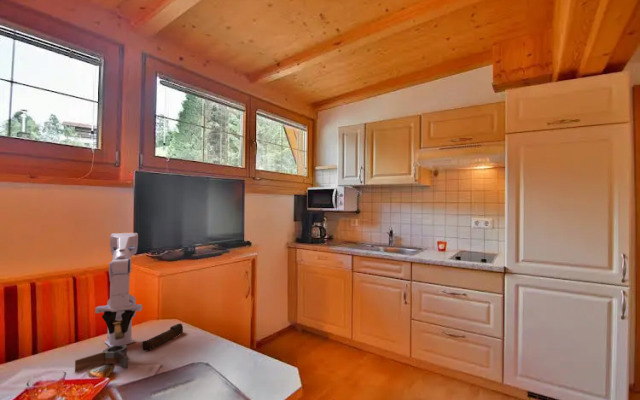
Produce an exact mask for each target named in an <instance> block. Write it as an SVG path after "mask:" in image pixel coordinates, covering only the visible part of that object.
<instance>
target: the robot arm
mask: <svg viewBox="0 0 640 400" xmlns="http://www.w3.org/2000/svg"><path fill="white" fill-rule="evenodd" d="M109 238H110V239H109V240H110V241H109V245H110V246H109V247H110V253H111V255H112V260H111V261H109V265H108V275H109V282H110V284H109V285H110V286H109V299H108V300H107V303H106V305H98V306H96V307H95V308H94V309H95V311H94V313H95V314H100V313H101V314H102V315H101V318H102V319H103V321H104V322H105V324H106V327H107V337H106V338H107V340H104V342H103V343H105V345H107V346H108V347H111V346H115V345H125V346H127V345H130V344H134V343H135V342H136V340H135V339H133V338H132V331H133V330H132V325H133V318H135V317H136V316H137V315H136V313H137V312H141V311H142V310H143V304H141V303H140V304H139V303H138V304H137V302H136V301H137V298H136V297H135V296H134V295H133V294H130V280H131V279H130V278H131V277H130V275H131V273H132V256H134V255H136V254H137V252H138V247H139V246H138V245H139V234H138V233H137V232H129V233H127V232H126V233H123V232H122V233H114V232H113V233H111V234H110V237H109ZM118 319H122V323H123V327H122V332H123V333H125V337H124V338H122V339H118V340H115V339H114V324H112V322H113V321H115V320H118Z"/></svg>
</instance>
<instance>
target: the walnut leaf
mask: <svg viewBox="0 0 640 400" xmlns="http://www.w3.org/2000/svg"><path fill="white" fill-rule="evenodd" d="M103 351H104V350H103ZM103 351H101V352H98V353H94V354H92V355H88V356H85V357H81V358H78V359H75V361H74V372H75V373H77V372H80V371H83V370H86V369H89V368H92V367H97V366H99V365H102V364H105V365H106V364H107V363H109V364H115V363H117V357H115V358H104V354H105V351H104V352H103ZM124 355H126V356H127V355H128V351H127V352H126V353H125V354H124ZM127 357H128V356H127ZM79 370H80V371H79ZM76 371H77V372H76Z"/></svg>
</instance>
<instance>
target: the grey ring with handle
mask: <svg viewBox="0 0 640 400" xmlns="http://www.w3.org/2000/svg"><path fill="white" fill-rule="evenodd" d="M104 351H105V354H104V358H115V357H117V362H116V363H117V364H118V365H119V366H120V367H121V368H123V369H124V370H127V369H128V368H129V357H128V356H126V355H124V354H125V353H126V352H127V353H128V346H127V345H115V346H111V347H109V346H108V347H106V348H105V349H103V350H102V352H104Z"/></svg>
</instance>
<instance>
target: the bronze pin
mask: <svg viewBox="0 0 640 400" xmlns="http://www.w3.org/2000/svg"><path fill="white" fill-rule="evenodd" d="M112 324H114V339H115V340H118V339H122V338H124V337H125V333H123V332H122V327H123V323H122V319H118V320H115V321H113V322H112Z"/></svg>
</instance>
